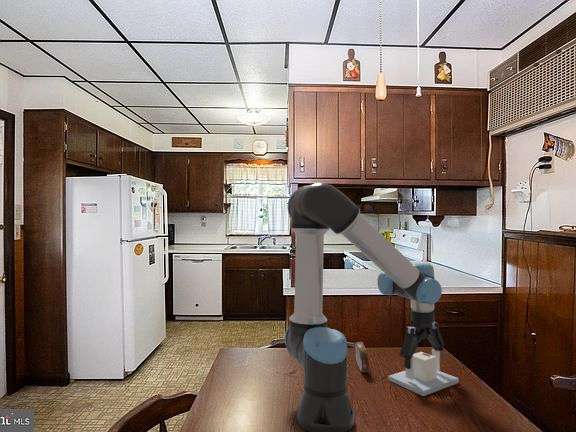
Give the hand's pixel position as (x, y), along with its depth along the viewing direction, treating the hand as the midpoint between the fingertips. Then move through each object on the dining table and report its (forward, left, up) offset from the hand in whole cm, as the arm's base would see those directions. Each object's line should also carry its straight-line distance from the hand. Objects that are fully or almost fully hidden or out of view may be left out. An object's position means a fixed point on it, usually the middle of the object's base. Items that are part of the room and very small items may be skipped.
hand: (423, 373), depth 126 cm
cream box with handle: (0, 0, -1) cm, 1 cm away
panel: (0, 0, -3) cm, 3 cm away
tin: (-9, +20, -3) cm, 22 cm away
